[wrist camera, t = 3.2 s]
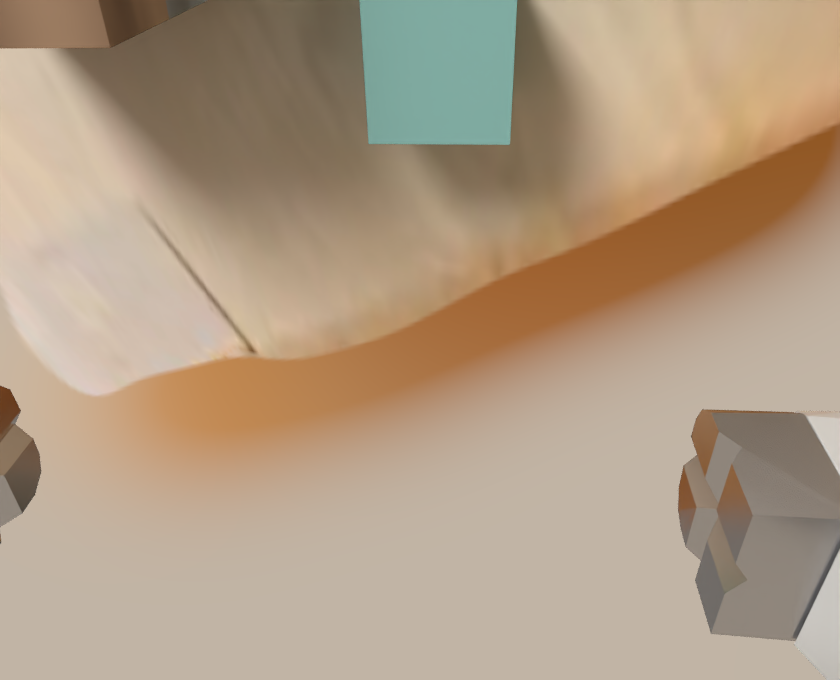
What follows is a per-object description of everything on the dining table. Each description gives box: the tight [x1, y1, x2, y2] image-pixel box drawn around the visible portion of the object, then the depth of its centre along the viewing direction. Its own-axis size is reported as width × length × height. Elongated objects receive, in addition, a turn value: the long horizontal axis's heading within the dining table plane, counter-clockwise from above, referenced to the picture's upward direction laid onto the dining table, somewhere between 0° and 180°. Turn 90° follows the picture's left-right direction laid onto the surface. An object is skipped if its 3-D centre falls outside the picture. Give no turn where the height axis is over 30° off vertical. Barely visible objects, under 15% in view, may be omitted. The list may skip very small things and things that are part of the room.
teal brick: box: [359, 0, 517, 145], centre depth 26 cm, size 5×5×6 cm
